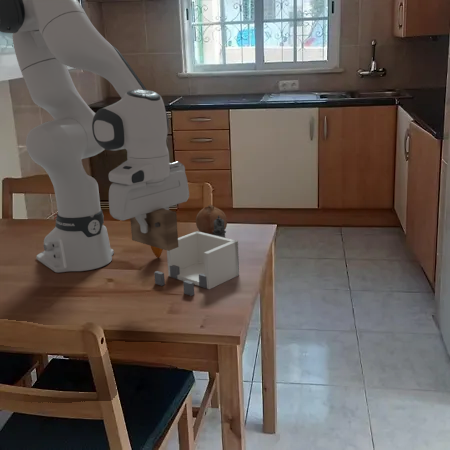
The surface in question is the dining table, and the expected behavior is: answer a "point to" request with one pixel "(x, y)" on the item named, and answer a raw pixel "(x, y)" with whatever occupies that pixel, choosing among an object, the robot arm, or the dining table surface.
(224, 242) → the cabinet
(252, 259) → the dining table surface
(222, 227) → the chess piece
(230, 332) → the dining table surface
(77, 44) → the robot arm
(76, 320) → the dining table surface
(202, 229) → the onion
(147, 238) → the door
